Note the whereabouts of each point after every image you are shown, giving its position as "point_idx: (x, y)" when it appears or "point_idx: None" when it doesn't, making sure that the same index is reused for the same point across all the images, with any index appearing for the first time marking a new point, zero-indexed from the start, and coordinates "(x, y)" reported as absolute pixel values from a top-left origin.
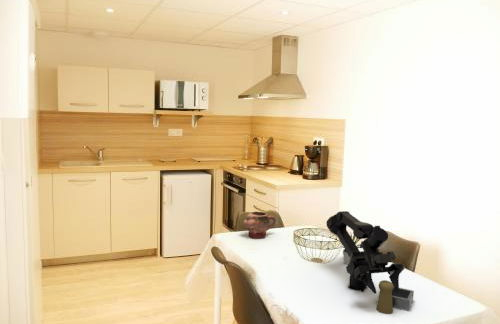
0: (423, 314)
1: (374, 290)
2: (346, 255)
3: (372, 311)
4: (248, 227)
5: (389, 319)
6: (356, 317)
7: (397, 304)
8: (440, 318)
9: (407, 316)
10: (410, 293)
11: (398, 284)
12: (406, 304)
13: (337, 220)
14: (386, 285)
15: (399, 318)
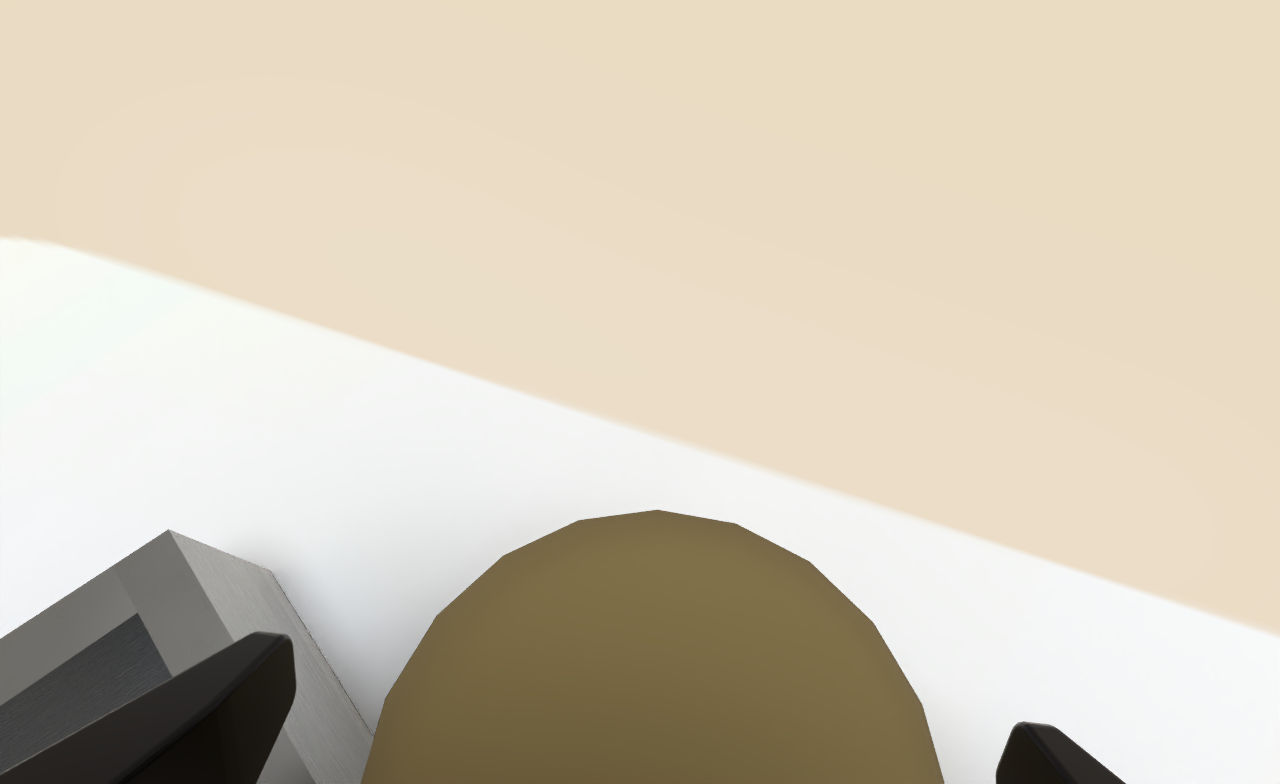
0: (163, 421)
1: (1113, 778)
2: None
3: None
4: None
5: (742, 463)
6: (1205, 673)
7: (340, 728)
8: (69, 272)
9: (433, 449)
10: None
11: (68, 740)
12: (245, 588)
13: None
14: (806, 573)
15: (586, 440)
